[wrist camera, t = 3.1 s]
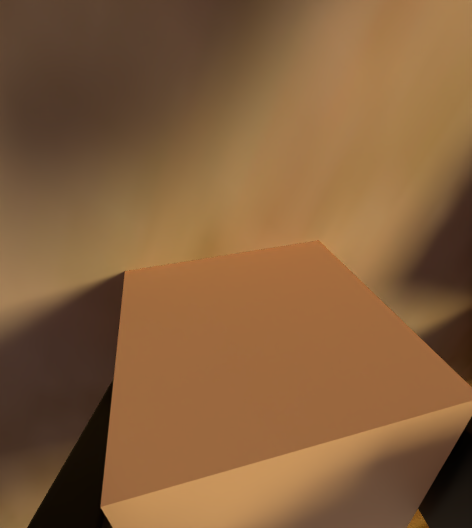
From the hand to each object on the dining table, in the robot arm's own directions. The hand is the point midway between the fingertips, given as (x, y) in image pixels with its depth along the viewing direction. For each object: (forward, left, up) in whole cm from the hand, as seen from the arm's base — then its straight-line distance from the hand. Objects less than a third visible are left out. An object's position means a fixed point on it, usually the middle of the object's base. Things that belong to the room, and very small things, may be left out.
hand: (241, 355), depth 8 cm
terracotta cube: (0, 0, -1) cm, 1 cm away
